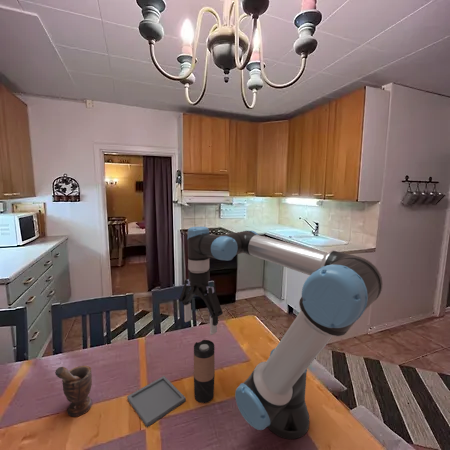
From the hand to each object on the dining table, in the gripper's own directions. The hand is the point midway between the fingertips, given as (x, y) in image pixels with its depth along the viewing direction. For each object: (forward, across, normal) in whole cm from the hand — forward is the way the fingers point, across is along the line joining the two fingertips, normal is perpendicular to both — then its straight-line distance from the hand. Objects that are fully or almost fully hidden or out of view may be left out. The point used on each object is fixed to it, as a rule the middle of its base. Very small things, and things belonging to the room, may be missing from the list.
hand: (200, 326), depth 92 cm
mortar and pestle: (+26, +25, +34) cm, 50 cm away
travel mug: (+26, -2, 0) cm, 26 cm away
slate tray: (+26, +9, +13) cm, 31 cm away
